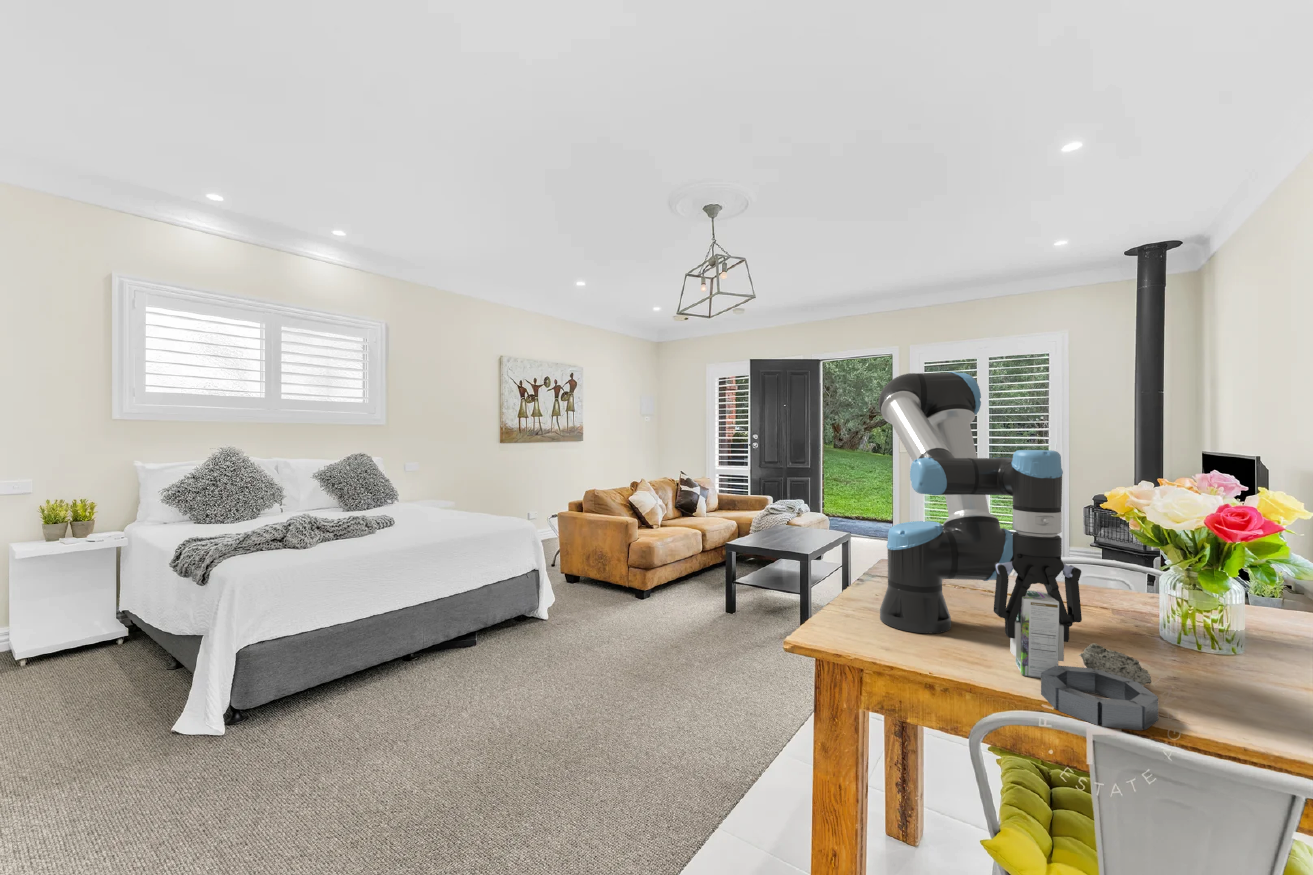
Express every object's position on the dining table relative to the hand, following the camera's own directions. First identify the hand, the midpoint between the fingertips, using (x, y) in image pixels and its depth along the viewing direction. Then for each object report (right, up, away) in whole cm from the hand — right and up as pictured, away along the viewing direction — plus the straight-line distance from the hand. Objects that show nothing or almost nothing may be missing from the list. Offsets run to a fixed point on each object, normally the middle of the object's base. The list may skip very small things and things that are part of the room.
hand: (1036, 656), depth 103 cm
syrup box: (0, -3, 0) cm, 3 cm away
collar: (+1, -3, -13) cm, 13 cm away
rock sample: (+11, -3, -5) cm, 13 cm away
